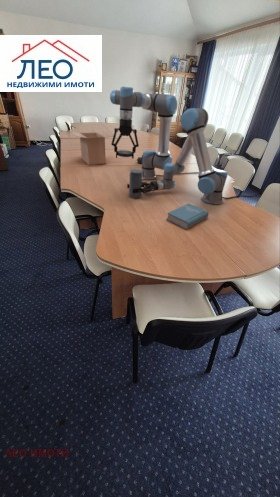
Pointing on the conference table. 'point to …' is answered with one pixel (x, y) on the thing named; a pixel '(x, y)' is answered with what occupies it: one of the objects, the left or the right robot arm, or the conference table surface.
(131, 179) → the jar
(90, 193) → the conference table surface
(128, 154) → the lid
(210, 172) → the right robot arm
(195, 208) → the book
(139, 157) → the laser sight
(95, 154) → the box
